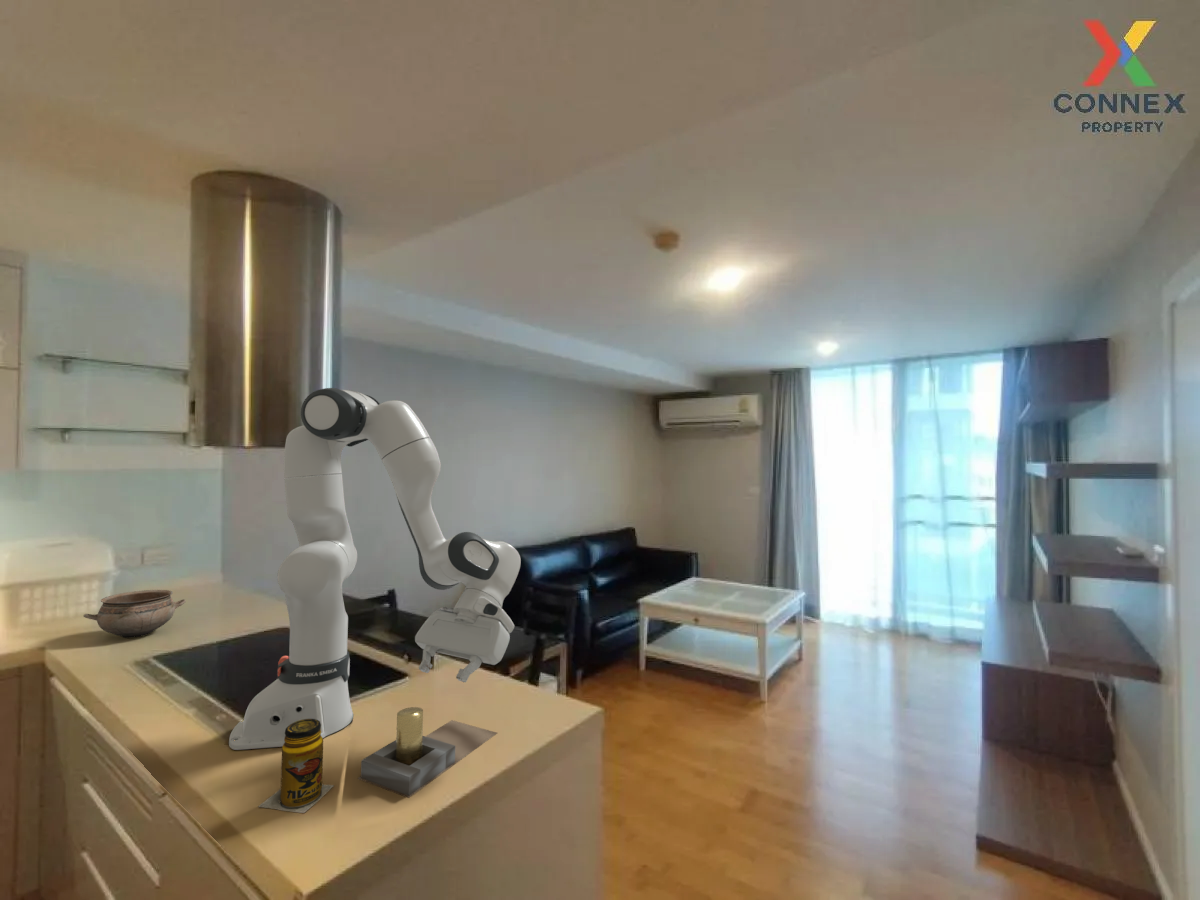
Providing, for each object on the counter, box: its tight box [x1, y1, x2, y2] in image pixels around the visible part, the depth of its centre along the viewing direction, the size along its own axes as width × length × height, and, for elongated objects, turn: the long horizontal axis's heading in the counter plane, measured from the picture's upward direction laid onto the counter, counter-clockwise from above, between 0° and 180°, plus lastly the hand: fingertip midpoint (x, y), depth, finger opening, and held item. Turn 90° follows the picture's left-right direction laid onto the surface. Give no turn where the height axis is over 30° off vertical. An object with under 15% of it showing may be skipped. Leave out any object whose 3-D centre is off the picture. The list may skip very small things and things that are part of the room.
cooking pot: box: [83, 589, 187, 639], centre depth 171 cm, size 25×19×12 cm
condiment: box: [257, 719, 335, 814], centre depth 89 cm, size 7×8×12 cm
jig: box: [356, 719, 498, 799], centre depth 101 cm, size 24×12×4 cm, turn 154°
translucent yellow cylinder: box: [396, 706, 424, 766], centre depth 96 cm, size 4×4×10 cm
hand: (441, 675), depth 103 cm, fingers open, 8 cm apart
